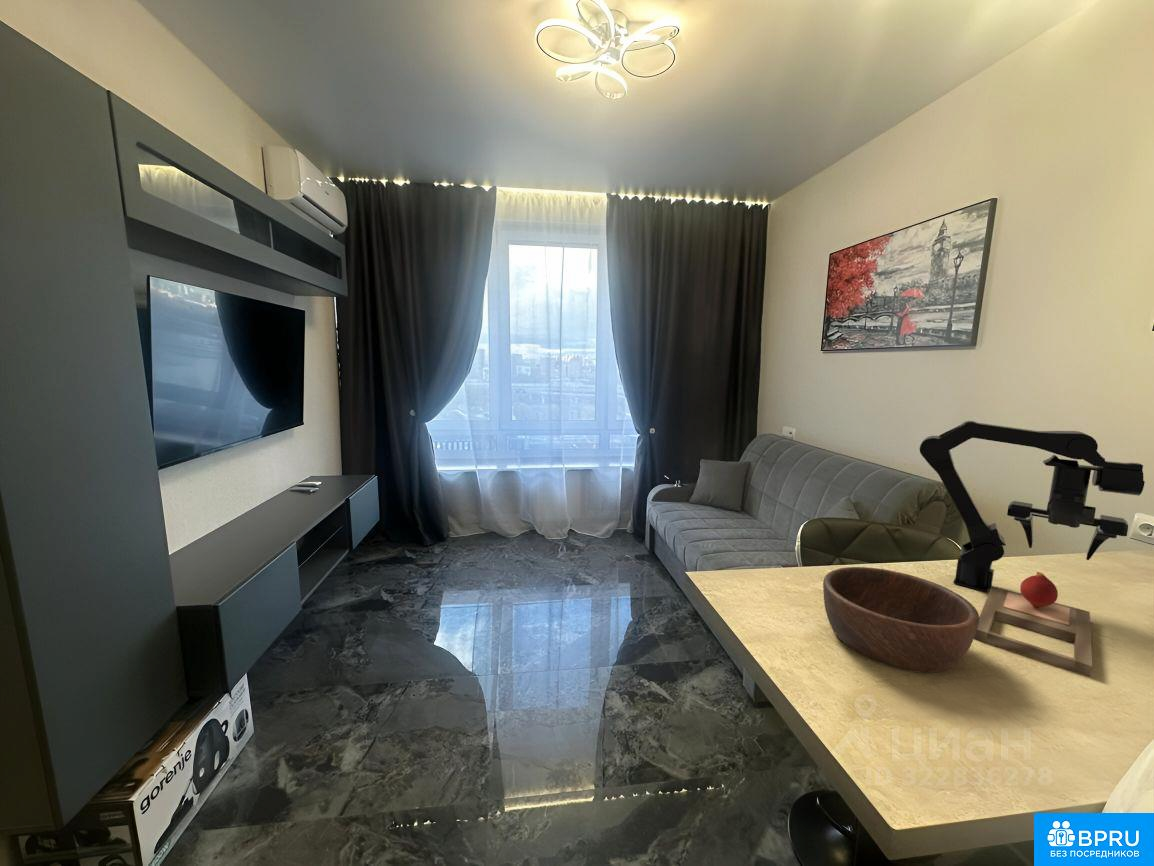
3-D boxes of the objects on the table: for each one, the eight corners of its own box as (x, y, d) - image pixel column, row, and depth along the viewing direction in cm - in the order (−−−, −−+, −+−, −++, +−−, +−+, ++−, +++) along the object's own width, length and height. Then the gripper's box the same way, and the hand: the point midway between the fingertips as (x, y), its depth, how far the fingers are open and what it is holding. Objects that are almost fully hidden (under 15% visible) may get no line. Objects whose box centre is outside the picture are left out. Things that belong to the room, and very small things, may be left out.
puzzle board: (973, 638, 94) (974, 627, 94) (990, 593, 113) (992, 584, 113) (1090, 676, 83) (1092, 664, 83) (1088, 620, 102) (1089, 610, 102)
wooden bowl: (841, 598, 110) (845, 556, 109) (980, 643, 93) (987, 594, 91) (800, 640, 93) (804, 591, 91) (961, 706, 75) (970, 646, 74)
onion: (1045, 603, 104) (1051, 569, 103) (1061, 616, 99) (1067, 580, 98) (1012, 598, 106) (1018, 565, 105) (1026, 610, 101) (1032, 575, 100)
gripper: (1009, 485, 107) (999, 550, 109) (1135, 503, 94) (1121, 577, 96) (1014, 477, 115) (1005, 539, 117) (1131, 493, 101) (1118, 562, 103)
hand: (1058, 553), depth 108 cm, fingers open, 9 cm apart
